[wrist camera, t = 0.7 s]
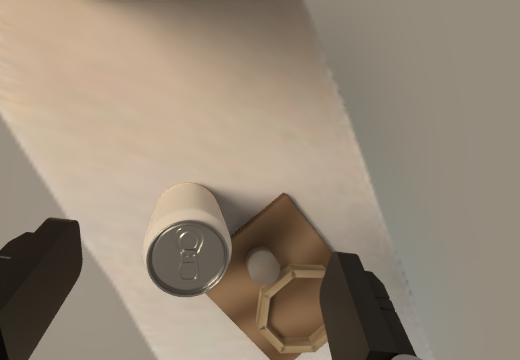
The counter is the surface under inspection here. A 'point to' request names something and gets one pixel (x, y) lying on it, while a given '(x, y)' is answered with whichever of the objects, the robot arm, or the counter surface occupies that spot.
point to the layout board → (276, 282)
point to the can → (187, 241)
